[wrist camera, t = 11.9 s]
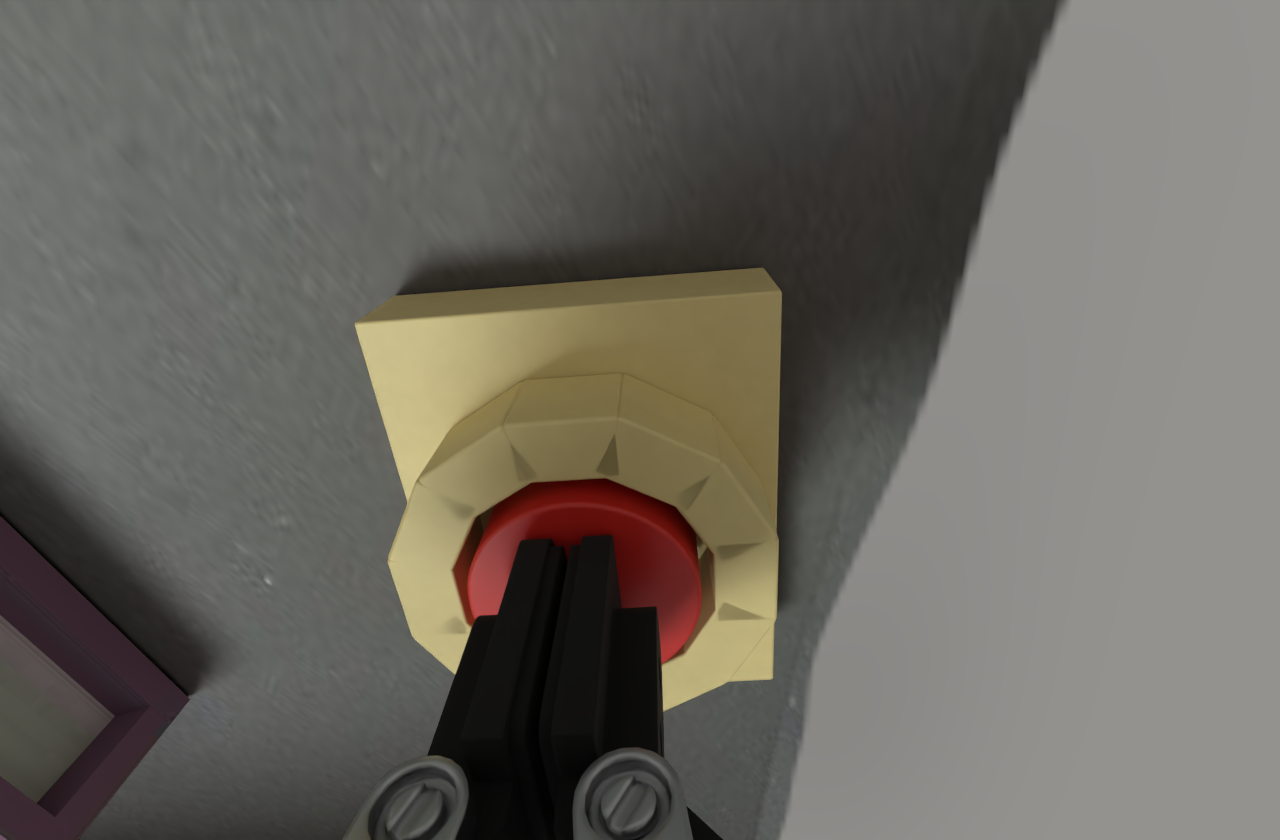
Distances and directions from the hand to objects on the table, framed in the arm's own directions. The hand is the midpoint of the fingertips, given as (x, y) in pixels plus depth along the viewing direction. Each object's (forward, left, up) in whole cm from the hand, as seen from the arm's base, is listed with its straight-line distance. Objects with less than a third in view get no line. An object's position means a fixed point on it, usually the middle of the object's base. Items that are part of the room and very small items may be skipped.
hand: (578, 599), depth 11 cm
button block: (0, 0, -4) cm, 4 cm away
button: (0, 0, -2) cm, 2 cm away
